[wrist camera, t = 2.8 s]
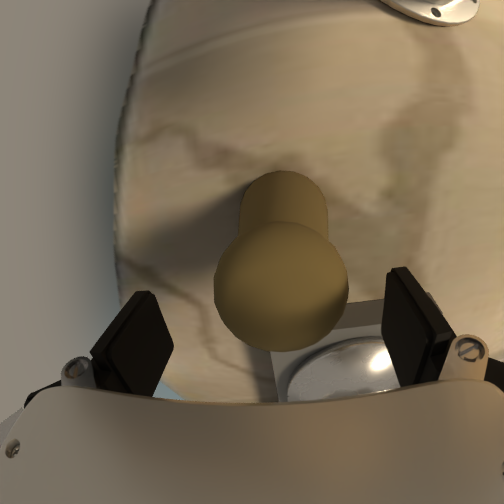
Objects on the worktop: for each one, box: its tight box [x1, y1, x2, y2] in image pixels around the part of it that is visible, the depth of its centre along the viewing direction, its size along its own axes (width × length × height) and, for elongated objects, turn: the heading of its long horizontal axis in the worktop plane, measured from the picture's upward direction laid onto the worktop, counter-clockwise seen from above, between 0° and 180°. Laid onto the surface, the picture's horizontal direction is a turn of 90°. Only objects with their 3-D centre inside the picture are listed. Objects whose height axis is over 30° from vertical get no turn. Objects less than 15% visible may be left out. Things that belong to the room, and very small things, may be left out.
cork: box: [214, 171, 349, 352], centre depth 14 cm, size 6×6×11 cm
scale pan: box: [288, 337, 400, 402], centre depth 21 cm, size 12×12×1 cm
